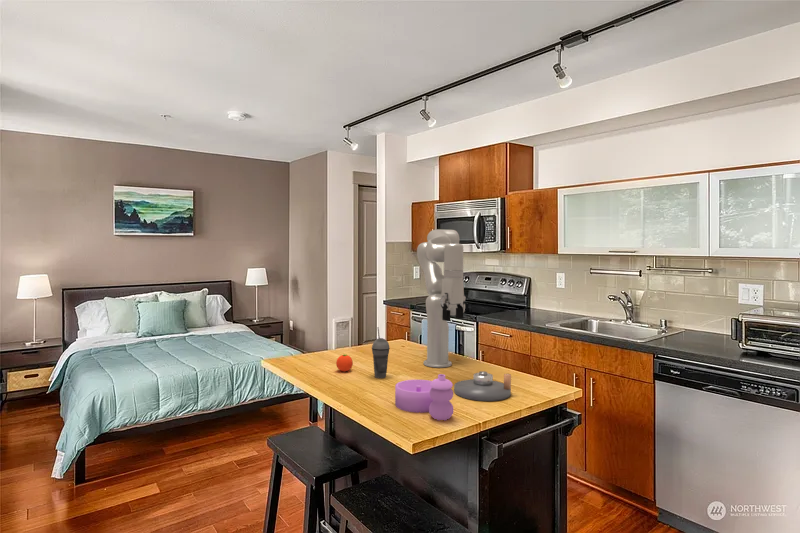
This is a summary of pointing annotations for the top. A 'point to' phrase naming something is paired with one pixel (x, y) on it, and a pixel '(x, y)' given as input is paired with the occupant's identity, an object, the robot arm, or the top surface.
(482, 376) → the cover
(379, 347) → the beverage cup
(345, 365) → the tomato
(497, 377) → the top surface
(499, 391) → the grey domed disc
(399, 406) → the container set
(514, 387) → the top surface
